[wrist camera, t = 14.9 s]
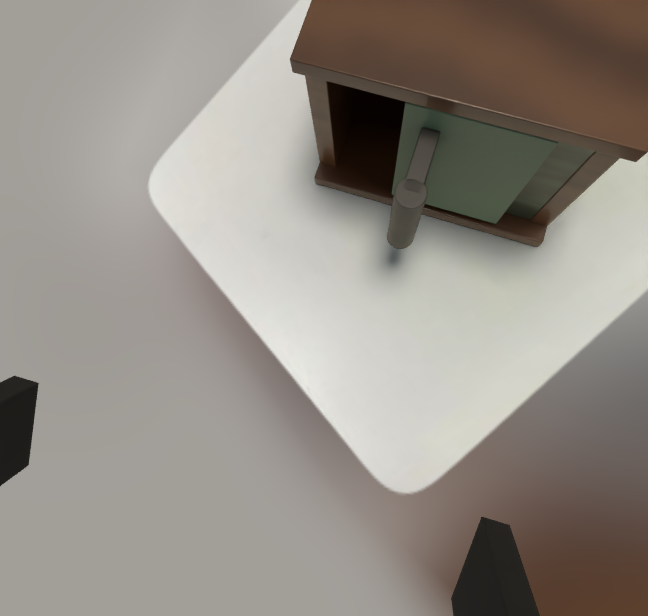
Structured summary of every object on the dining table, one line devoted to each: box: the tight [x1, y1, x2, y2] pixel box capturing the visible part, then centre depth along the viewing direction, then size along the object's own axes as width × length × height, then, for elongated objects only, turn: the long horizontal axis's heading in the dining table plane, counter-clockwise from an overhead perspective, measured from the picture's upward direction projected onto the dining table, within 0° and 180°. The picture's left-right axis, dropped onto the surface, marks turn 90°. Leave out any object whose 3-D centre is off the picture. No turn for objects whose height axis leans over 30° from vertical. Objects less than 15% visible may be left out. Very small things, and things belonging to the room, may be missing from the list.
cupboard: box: [290, 0, 648, 247], centre depth 31 cm, size 10×16×14 cm, turn 72°
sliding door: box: [387, 102, 558, 249], centre depth 29 cm, size 5×7×11 cm
